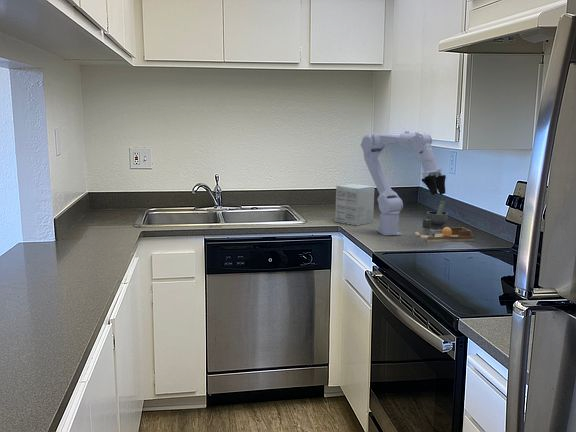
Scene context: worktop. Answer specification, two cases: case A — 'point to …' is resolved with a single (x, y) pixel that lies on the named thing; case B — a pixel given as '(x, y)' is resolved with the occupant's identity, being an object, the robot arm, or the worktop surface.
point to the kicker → (428, 227)
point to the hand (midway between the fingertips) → (439, 194)
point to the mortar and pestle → (438, 216)
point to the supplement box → (354, 204)
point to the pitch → (456, 236)
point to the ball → (446, 231)
